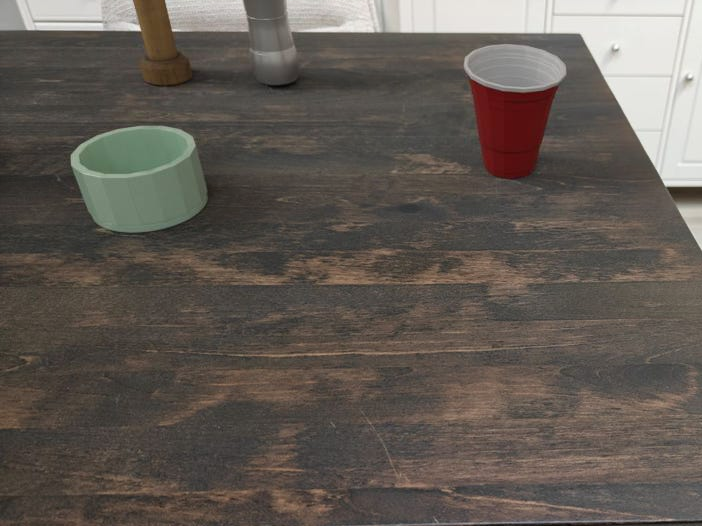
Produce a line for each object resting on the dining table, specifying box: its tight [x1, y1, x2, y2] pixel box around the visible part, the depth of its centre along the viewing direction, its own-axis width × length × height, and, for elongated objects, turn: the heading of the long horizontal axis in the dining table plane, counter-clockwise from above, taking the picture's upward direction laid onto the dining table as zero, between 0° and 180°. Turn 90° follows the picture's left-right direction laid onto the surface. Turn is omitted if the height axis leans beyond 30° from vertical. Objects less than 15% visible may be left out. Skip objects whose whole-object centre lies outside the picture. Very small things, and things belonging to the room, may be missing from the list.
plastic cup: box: [463, 43, 567, 179], centre depth 81 cm, size 11×11×12 cm
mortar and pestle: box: [132, 0, 194, 86], centre depth 98 cm, size 7×6×18 cm
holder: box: [70, 125, 209, 234], centre depth 76 cm, size 12×12×6 cm
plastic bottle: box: [242, 0, 301, 86], centre depth 97 cm, size 6×7×20 cm
